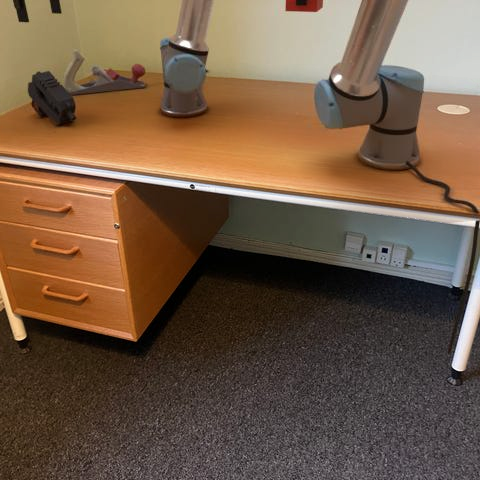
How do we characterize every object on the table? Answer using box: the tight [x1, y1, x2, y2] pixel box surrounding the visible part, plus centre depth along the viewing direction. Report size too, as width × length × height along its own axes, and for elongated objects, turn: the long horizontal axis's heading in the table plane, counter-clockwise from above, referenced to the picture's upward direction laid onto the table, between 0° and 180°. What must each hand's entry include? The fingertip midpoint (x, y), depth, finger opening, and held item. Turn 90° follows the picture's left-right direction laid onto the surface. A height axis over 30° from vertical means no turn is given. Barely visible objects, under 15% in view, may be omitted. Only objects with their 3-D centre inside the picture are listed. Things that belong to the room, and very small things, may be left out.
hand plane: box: [62, 48, 146, 96], centre depth 194 cm, size 7×31×15 cm, turn 107°
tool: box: [27, 70, 77, 126], centre depth 167 cm, size 6×19×15 cm, turn 51°
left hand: (41, 17), depth 142 cm, fingers open, 13 cm apart
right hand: (304, 2), depth 140 cm, fingers closed on block, 8 cm apart
